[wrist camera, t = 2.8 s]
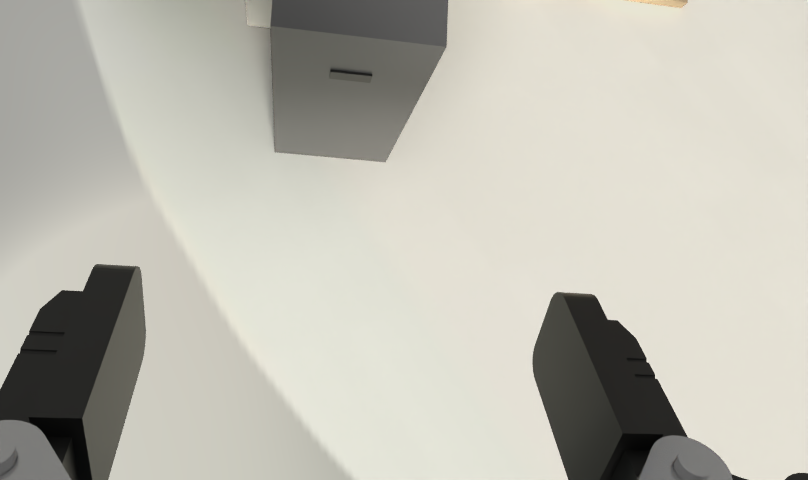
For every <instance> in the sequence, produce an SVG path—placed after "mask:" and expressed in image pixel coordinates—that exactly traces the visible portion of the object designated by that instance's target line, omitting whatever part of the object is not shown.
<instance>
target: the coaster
mask: <svg viewBox="0 0 808 480" xmlns="http://www.w3.org/2000/svg"><path fill="white" fill-rule="evenodd" d="M627 1H635V2H642V3H650V4H657V5H664V6H672V7H679V8H682V7H683V6H684V5H685V4H686V3H688V2H687V0H627Z"/></svg>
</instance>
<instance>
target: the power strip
mask: <svg viewBox="0 0 808 480" xmlns="http://www.w3.org/2000/svg"><path fill="white" fill-rule="evenodd" d="M245 5H246V15H247V25H248V26H256V27H264V28H270V23H271V11H272V0H245Z"/></svg>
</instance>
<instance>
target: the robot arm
mask: <svg viewBox="0 0 808 480" xmlns="http://www.w3.org/2000/svg"><path fill="white" fill-rule="evenodd" d="M145 334H146V328H145V316H144V302H143V289H142V278H141V271H140V268H139V267H137V266H118V265H102V264H97V265H95V266H94V267H93V269H92V271H91V274H90V276H89V278H88V281H87V283H86V286H85V288H84V290H83V291H65V290H62V291H61V292H60V293H59V294H57V295H56V296H55V297H54V298H53V299H52V300H50V301H49V302H48V303H47V304H45V305H44V306H43V307H42V308H41V309H40V311H39V312H38V314H37V317H36V319H35V321H34V323H33V325H32V327H31V329H30V331H29V335H27V337H26V339H25V341H24V343H23V345H22V347H21V351H20V354H18V355H17V357H16V359H15V361H14V363H13V365H12V367H11V369H10V371H9V373H8V375H7V377H6V379H5V381H4V383H3V385H2V387H1V389H0V480H108V478H109V474H110V471H111V467H112V464H113V460H114V457H115V454H116V450H117V447H118V443H119V440H120V436H121V433H122V429H123V426H124V423H125V419H126V416H127V412H128V409H129V405H130V402H131V398H132V395H133V391H134V388H135V385H136V381H137V378H138V374H139V370H140V367H141V363H142V360H143V355H144V348H145V338H146V335H145ZM533 373H534V377H535V381H536V384H537V387H538V390H539V393H540V396H541V399H542V402H543V405H544V408H545V411H546V414H547V417H548V420H549V423H550V426H551V429H552V432H553V435H554V438H555V441H556V444H557V447H558V450H559V453H560V456H561V459H562V462H563V465H564V468H565V471H566V474H567V477H568V480H747V479H744V478H740V477H737V476H735V475H732V474H731V473H730V471H729V469H728V467H727V466H726V464H725V463H724V461H723V460H722V459H721V458H720V457H719V456H718V455H717V454H716V453H715V452H714V451H712V450H711V449H710V448H708V447H707V446H705V445H704V444H702V443H700V442H698V441H696V440H693V439H691V438H688V437H687V435H686V433H685V431H684V429H683V427H682V425H681V424H680V422H679V420H678V418H677V416H676V414H675V412H674V410H673V408H672V406H671V404H670V403H669V401H668V399H667V397H666V395H665V393H664V391H663V389H662V387H661V385H660V383H659V381H658V380H657V379H655V374H654V372H653V370H652V368H651V366H650V364H649V363H647V362H646V357H645V355H644V353H643V351H642V349H641V347H640V345H639V343H638V341H637V339H636V338H635V337H634V336H633V335H632V334H631V333H630V332H629V331H628V330H627V329H626V328H625V327H623V326H622V325H621V324H620V323H619V322H618V321H616V320H607V318H606V316H605V314H604V312H603V310H602V307H601V305H600V303H599V301H598V299H597V298H596V297H595V296H594V295H592V294H579V293H562V292H557V293H555V294H554V295H553V297H552V299H551V301H550V304H549V307H548V310H547V313H546V316H545V318H544V321H543V324H542V327H541V330H540V333H539V335H538V338H537V341H536V344H535V347H534V352H533ZM785 480H808V474H807V473H797V474H792V475H790V476H788V477H787V478H786V479H785Z"/></svg>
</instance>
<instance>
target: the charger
mask: <svg viewBox="0 0 808 480" xmlns="http://www.w3.org/2000/svg"><path fill="white" fill-rule="evenodd" d="M447 14H448V0H272V11H271V23H270V32H271V60H272V88H273V115H274V143H275V152H279V153H291V154H302V155H313V156H324V157H335V158H346V159H357V160H368V161H379V162H386V160H387V158H388V156H389V154H390V153H391V151H392V149H393V147H394V145H395V143H396V141H397V139H398V137H399V136H400V134H401V132H402V130H403V128H404V126H405V124H406V122H407V120H408V118H409V117H410V115H411V113H412V111H413V109H414V107H415V105H416V103H417V101H418V100H419V98H420V96H421V94H422V92H423V90H424V88H425V86H426V84H427V83H428V81H429V79H430V77H431V75H432V73H433V71H434V69H435V67H436V66H437V64H438V62H439V60H440V58H441V56H442V54H443V52H444V50H445V48H446V42H447Z"/></svg>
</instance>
